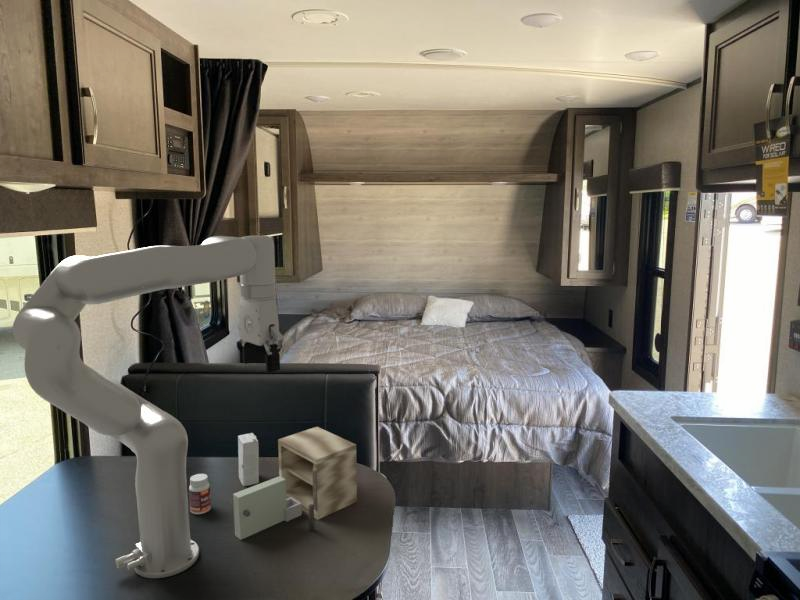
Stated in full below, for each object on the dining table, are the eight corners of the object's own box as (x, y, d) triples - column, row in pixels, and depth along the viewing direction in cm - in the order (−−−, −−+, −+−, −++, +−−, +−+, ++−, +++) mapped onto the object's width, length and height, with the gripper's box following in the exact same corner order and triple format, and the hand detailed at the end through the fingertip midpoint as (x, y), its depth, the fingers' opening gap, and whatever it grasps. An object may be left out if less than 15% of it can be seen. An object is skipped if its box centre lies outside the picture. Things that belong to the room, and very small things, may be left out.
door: (242, 541, 125) (240, 499, 123) (233, 533, 128) (231, 492, 126) (302, 515, 136) (300, 475, 134) (291, 508, 139) (290, 469, 137)
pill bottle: (204, 515, 135) (202, 482, 134) (186, 513, 136) (184, 481, 135) (214, 505, 140) (213, 473, 139) (197, 503, 141) (195, 471, 140)
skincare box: (238, 477, 154) (236, 435, 152) (254, 473, 157) (252, 432, 155) (243, 487, 149) (241, 443, 147) (260, 483, 151) (258, 440, 149)
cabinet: (311, 532, 129) (309, 469, 126) (265, 501, 142) (263, 444, 140) (365, 506, 140) (364, 448, 137) (318, 479, 153) (317, 426, 151)
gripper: (223, 289, 130) (227, 362, 133) (264, 298, 118) (267, 378, 120) (253, 286, 135) (256, 356, 138) (294, 294, 123) (297, 371, 126)
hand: (261, 366), depth 129 cm, fingers open, 9 cm apart
